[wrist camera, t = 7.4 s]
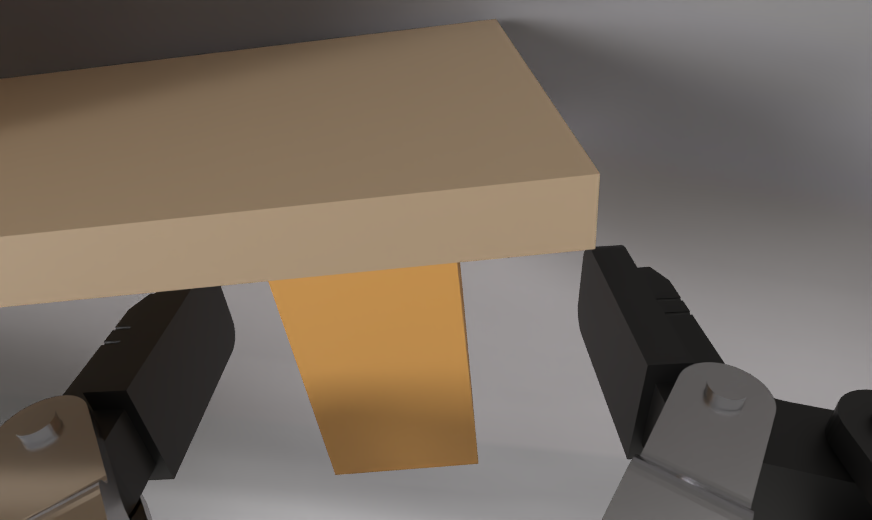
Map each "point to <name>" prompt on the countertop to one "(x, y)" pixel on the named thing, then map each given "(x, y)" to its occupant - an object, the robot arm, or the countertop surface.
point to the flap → (305, 206)
